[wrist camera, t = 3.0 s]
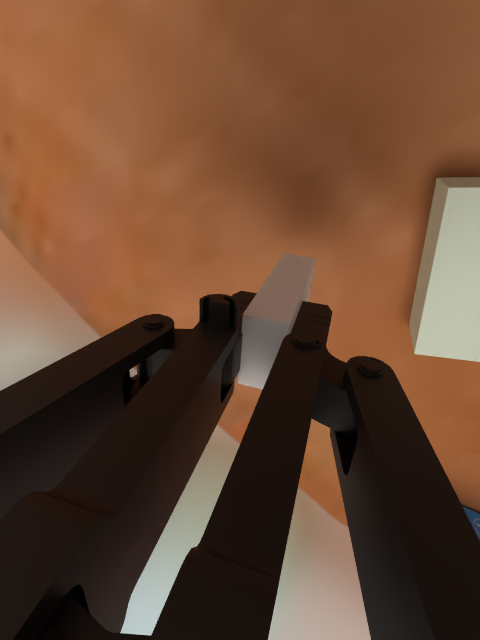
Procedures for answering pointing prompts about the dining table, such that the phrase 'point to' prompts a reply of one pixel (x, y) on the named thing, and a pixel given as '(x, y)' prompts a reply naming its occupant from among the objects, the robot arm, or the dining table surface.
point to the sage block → (450, 274)
